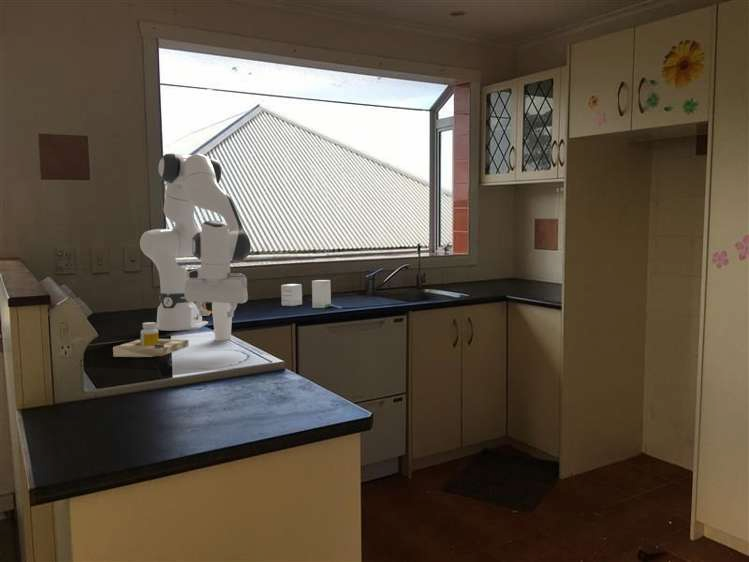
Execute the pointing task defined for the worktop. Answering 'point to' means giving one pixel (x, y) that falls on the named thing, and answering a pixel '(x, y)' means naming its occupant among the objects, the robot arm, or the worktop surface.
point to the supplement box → (291, 294)
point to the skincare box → (321, 293)
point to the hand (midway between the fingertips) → (216, 316)
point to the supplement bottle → (149, 334)
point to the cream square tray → (149, 348)
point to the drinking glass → (221, 321)
